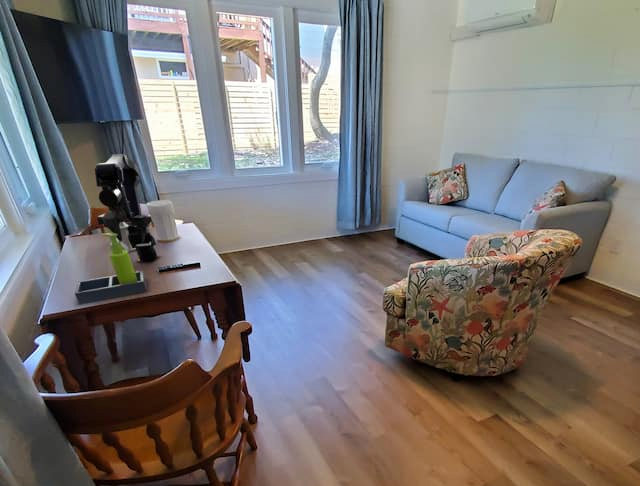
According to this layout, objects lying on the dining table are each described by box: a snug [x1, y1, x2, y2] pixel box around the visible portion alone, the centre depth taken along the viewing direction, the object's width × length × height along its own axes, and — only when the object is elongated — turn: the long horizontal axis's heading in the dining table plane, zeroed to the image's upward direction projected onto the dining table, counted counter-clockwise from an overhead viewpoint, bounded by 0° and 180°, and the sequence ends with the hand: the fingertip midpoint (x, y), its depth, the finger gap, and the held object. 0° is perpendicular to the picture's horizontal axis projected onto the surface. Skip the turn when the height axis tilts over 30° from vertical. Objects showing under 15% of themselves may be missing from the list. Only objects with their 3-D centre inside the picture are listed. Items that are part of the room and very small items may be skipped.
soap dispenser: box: [100, 232, 138, 285], centre depth 142 cm, size 6×7×20 cm
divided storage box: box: [74, 270, 148, 305], centre depth 145 cm, size 11×22×4 cm, turn 116°
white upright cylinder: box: [145, 199, 180, 243], centre depth 192 cm, size 11×11×17 cm
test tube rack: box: [116, 222, 137, 253], centre depth 187 cm, size 25×4×13 cm, turn 40°
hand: (131, 241), depth 154 cm, fingers open, 9 cm apart
